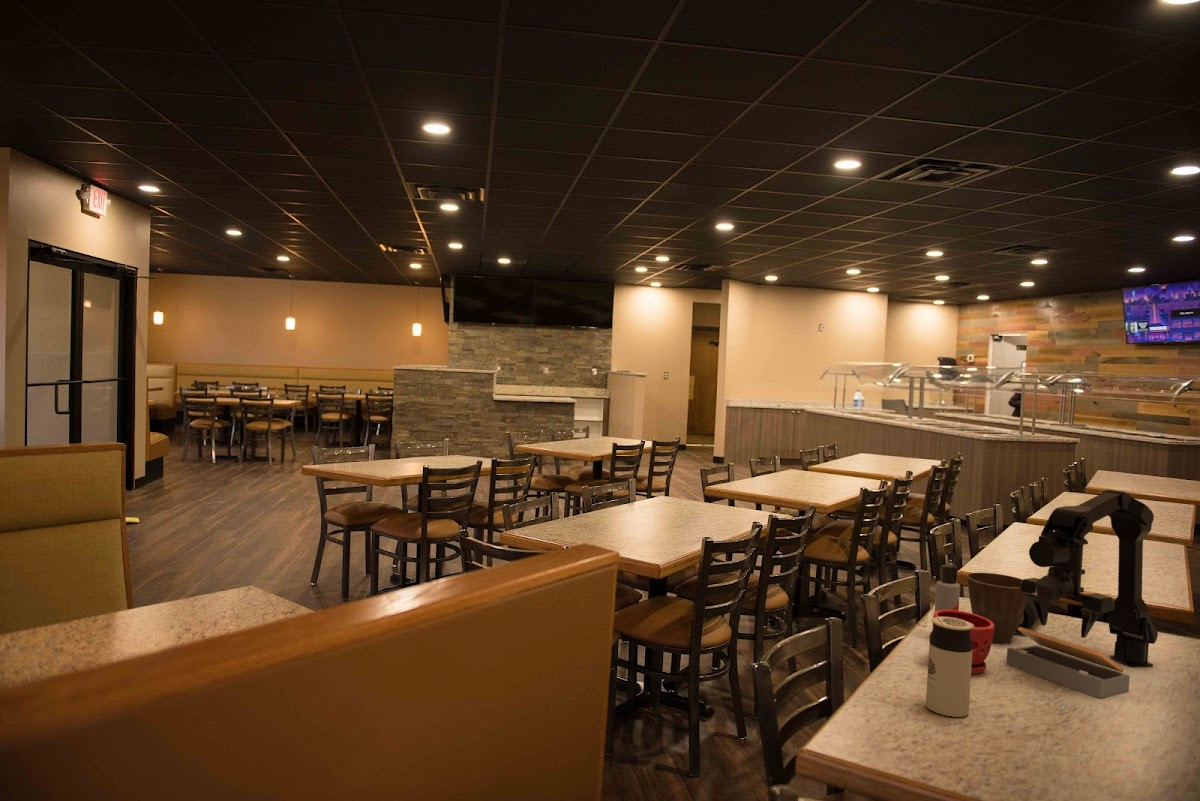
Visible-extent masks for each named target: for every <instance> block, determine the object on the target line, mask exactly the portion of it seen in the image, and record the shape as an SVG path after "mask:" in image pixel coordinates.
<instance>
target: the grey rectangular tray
mask: <svg viewBox="0 0 1200 801" xmlns="http://www.w3.org/2000/svg"><path fill="white" fill-rule="evenodd" d="M1005 664H1006V666H1008V667H1011V668H1014V669H1018V670H1020V671H1023V672H1026V673H1029V674H1030V675H1033V676H1036V677H1039V678H1042V679H1043V680H1047V681H1050V682H1053V683H1054V684H1058V685H1061V686H1064V687H1067V688H1069V689H1072V690H1075V691H1077V692H1080V693H1082V694H1085V695H1088V694H1089V695H1088V696H1090V695H1091V696H1090V697H1093V696H1094V697H1093V698H1096V697H1097V699H1099V698H1101V699H1104V698H1103V697H1105V698H1107V696H1109V697H1112V695H1113V696H1115V695H1116V694H1117V695H1120V694H1124V693H1128V692H1129V691H1130V678H1131V676H1130V675H1128V674H1125V673H1123V672H1119V671H1116V670H1113V669H1110V668H1107V667H1104V666H1101V665H1098V664H1095V663H1092V662H1089V661H1086V660H1083V659H1080V658H1077V657H1074V656H1071V655H1068V654H1065V653H1062V652H1059V651H1056V650H1053V649H1050V648H1047V647H1044V646H1041V645H1039V644H1032V645H1028V646H1022V647H1018V648H1016V647H1015V648H1014V647H1007V648H1006V663H1005Z"/></svg>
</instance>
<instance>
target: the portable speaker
mask: <svg viewBox="0 0 1200 801" xmlns="http://www.w3.org/2000/svg"><path fill="white" fill-rule="evenodd" d="M1038 620H1040V619H1039V616H1038V612H1037V609H1036V607H1035V604H1034V602H1033V601H1032V600H1031V599H1030V598H1029V597H1028V599H1027V603H1026V606H1025V609H1024V612H1023V615H1022V618H1021V620H1020V623H1019V625H1018V627H1017V630H1016V632H1015V634H1021V633H1022V632H1020V631H1019V630H1018V628H1019V627H1022V628H1025V629H1028V630H1031V627H1033V626H1034V625H1035V624H1036V622H1037V621H1038ZM1022 634H1023V633H1022Z"/></svg>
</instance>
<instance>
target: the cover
mask: <svg viewBox="0 0 1200 801" xmlns="http://www.w3.org/2000/svg"><path fill="white" fill-rule="evenodd" d="M1018 630H1019V631H1020V632H1022V634H1023V635H1025V636H1026V637H1028V638H1029V639H1030V640H1032V641H1033V642H1034V643H1036V644H1037V645H1038V646H1041V647H1044V648H1047V649H1050V650H1053V651H1056V652H1059V653H1062V654H1065V655H1068V656H1071V657H1074V658H1077V659H1080V660H1083V661H1086V662H1090V663H1093V664H1096V665H1099V666H1102V667H1105V668H1108V669H1111V670H1114V671H1117V672H1120V673H1123V672H1124V668H1123V667H1121V666H1120V665H1119V664H1118V663H1116V662H1115V661H1114V660H1112V658H1110V657H1108V656H1107V655H1105V654H1104V653H1103V652H1100V651H1097V650H1094V649H1090V648H1088V647H1085V646H1081V645H1078V644H1075V643H1073V642H1069V641H1066V640H1063V639H1060V638H1056V637H1053V636H1051V635H1046V634H1043V633H1040V632H1037V631H1034V630H1032V629H1025V628H1022V627H1019V628H1018Z"/></svg>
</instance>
